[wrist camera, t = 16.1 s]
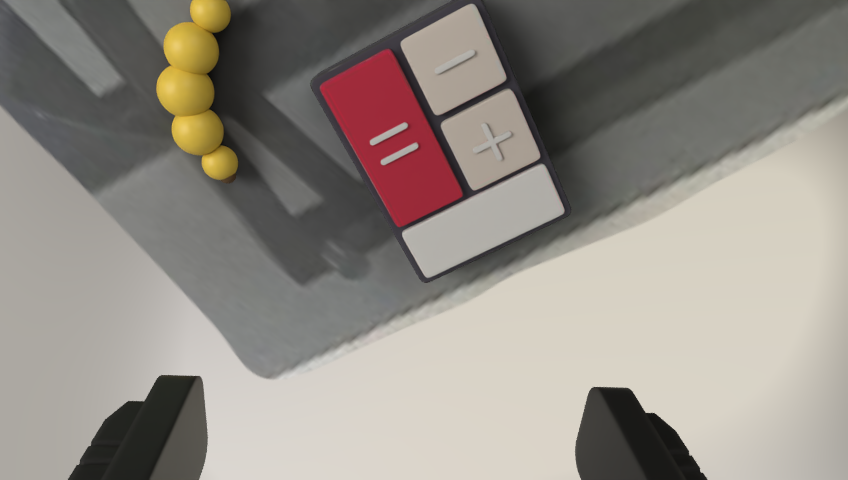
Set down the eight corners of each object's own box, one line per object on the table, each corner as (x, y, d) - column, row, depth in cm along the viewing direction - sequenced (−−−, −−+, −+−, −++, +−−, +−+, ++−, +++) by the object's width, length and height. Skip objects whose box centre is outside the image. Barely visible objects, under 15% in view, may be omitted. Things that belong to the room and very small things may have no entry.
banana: (157, -15, 33) (136, -14, 30) (233, -9, 34) (219, -7, 31) (175, 174, 38) (159, 190, 35) (242, 178, 38) (231, 194, 36)
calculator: (479, -12, 31) (577, 218, 36) (470, -10, 35) (559, 197, 40) (304, 82, 33) (423, 291, 38) (314, 74, 37) (420, 264, 42)
